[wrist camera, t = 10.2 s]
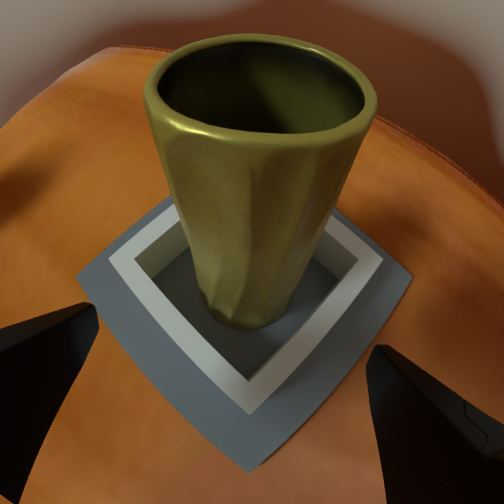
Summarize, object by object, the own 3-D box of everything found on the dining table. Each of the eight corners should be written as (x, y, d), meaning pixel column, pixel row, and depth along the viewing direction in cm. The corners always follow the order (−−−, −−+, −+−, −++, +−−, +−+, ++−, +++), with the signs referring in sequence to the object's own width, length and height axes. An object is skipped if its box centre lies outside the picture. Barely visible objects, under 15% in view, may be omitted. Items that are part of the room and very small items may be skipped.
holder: (406, 281, 19) (438, 258, 15) (248, 468, 14) (251, 494, 10) (244, 150, 24) (246, 112, 20) (81, 281, 18) (50, 257, 14)
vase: (205, 238, 19) (167, 31, 6) (293, 243, 19) (360, 45, 6) (194, 325, 17) (71, 166, 4) (293, 331, 17) (438, 191, 4)
